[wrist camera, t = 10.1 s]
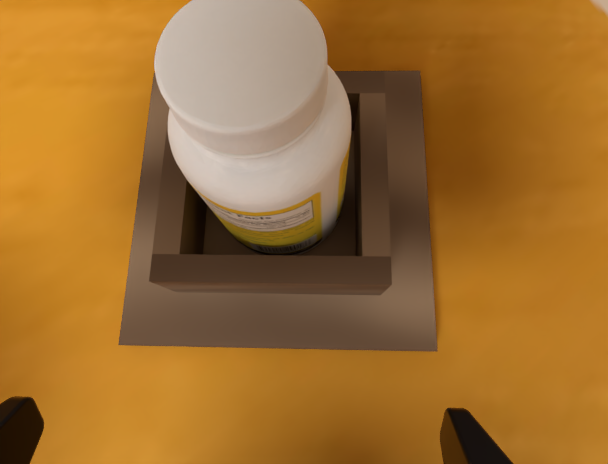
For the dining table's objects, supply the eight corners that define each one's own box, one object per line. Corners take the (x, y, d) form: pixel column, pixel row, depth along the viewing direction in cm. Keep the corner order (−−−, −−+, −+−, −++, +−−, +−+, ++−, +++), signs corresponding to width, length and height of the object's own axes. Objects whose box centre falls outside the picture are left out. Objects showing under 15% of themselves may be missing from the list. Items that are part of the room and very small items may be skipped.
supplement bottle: (278, 124, 20) (240, -78, 11) (367, 195, 19) (414, 40, 10) (195, 206, 19) (74, 64, 10) (284, 286, 18) (244, 214, 9)
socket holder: (432, 351, 18) (460, 351, 14) (127, 345, 18) (78, 343, 15) (416, 80, 21) (436, 25, 18) (160, 82, 22) (127, 28, 18)
